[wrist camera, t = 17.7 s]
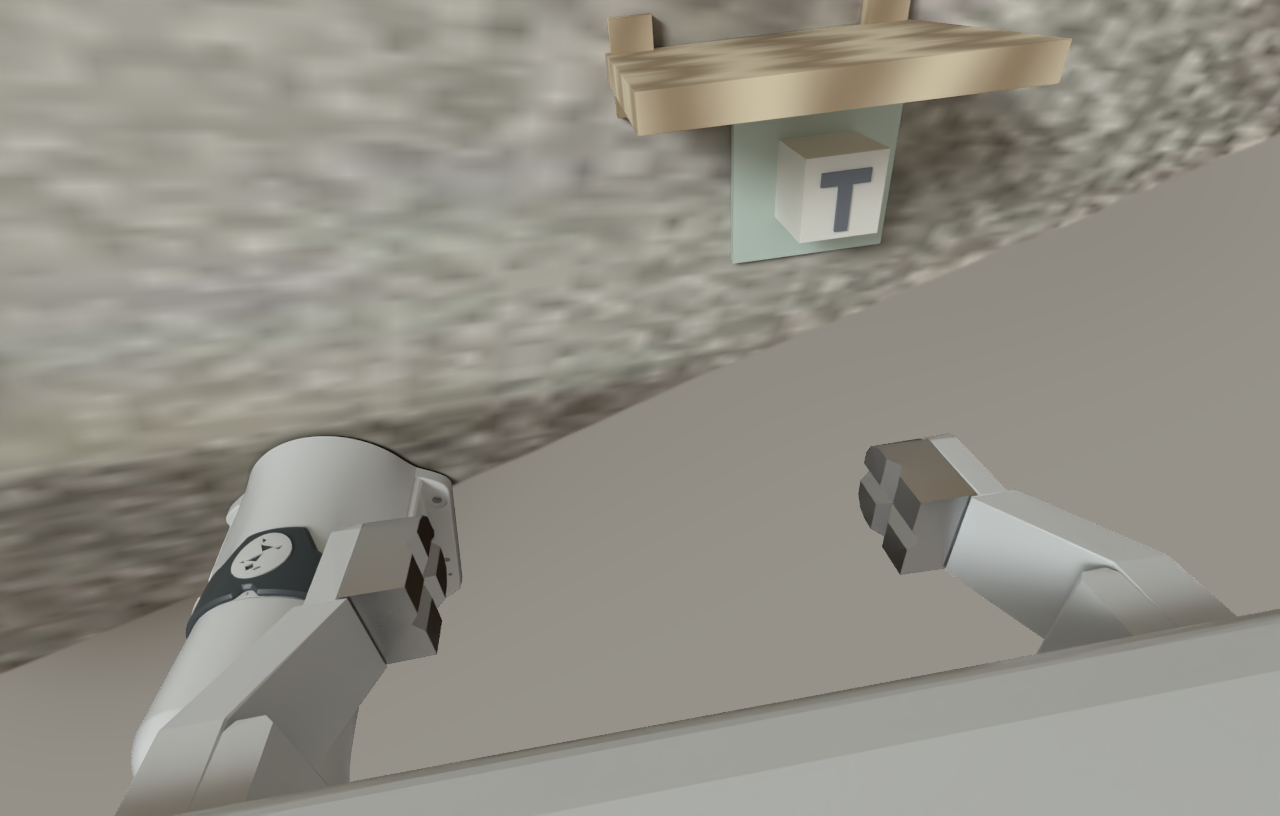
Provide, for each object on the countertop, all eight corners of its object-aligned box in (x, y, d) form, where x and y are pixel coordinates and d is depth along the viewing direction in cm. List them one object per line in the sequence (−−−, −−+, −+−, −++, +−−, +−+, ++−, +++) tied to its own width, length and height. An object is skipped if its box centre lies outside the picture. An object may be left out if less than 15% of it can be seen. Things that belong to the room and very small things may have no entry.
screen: (909, -17, 34) (1087, -13, 23) (894, 80, 37) (1045, 126, 26) (601, 18, 33) (630, 41, 22) (612, 115, 36) (641, 179, 25)
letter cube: (844, 210, 41) (877, 236, 37) (774, 219, 41) (800, 247, 37) (854, 130, 38) (892, 149, 34) (778, 139, 38) (807, 160, 33)
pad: (876, 240, 43) (880, 243, 43) (730, 260, 43) (732, 263, 42) (903, 70, 37) (908, 72, 36) (731, 91, 36) (733, 93, 36)
